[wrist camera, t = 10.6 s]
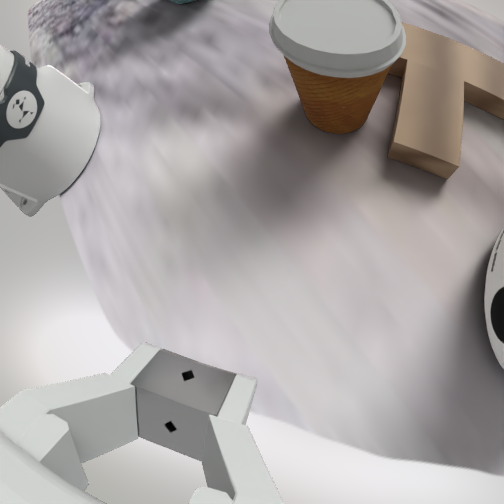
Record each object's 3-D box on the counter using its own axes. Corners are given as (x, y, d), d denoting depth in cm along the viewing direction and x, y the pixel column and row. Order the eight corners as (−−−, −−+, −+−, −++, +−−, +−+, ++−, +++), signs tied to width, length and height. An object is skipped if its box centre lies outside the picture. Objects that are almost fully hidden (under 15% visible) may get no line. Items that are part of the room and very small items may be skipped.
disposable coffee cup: (288, 151, 28) (267, 63, 16) (284, 72, 29) (265, -18, 18) (392, 150, 26) (426, 64, 15) (376, 70, 28) (389, -19, 16)
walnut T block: (291, 129, 28) (288, 112, 25) (330, 23, 30) (330, 5, 27) (521, 213, 23) (537, 204, 20) (519, 91, 24) (529, 77, 21)
